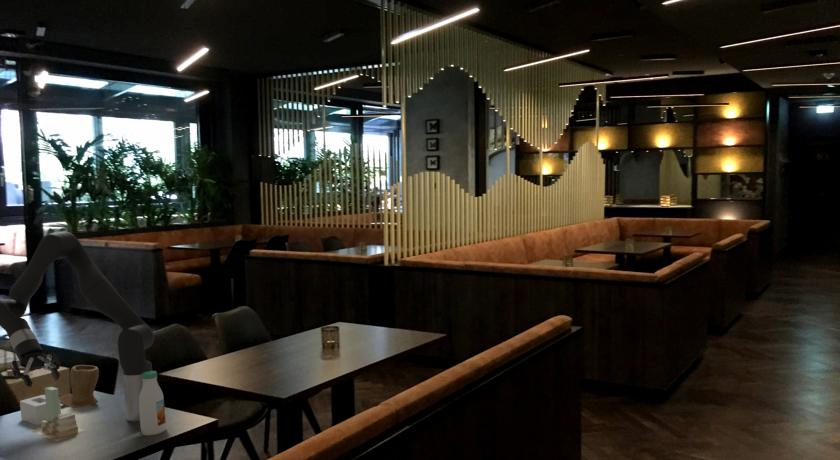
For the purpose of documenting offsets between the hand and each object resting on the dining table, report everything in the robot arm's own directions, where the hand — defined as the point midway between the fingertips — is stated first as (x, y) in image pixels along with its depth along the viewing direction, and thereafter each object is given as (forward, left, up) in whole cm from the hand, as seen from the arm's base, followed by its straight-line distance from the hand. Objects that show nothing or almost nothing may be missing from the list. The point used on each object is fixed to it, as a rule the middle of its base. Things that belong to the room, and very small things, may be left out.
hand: (44, 382), depth 224 cm
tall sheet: (-4, +3, -15) cm, 16 cm away
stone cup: (+1, -28, -17) cm, 33 cm away
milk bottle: (-37, +7, -17) cm, 41 cm away
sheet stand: (+7, -9, -17) cm, 20 cm away
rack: (-5, +4, -17) cm, 18 cm away
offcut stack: (-9, +8, -15) cm, 19 cm away
